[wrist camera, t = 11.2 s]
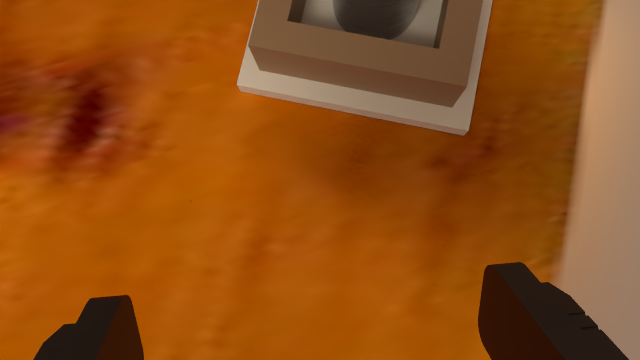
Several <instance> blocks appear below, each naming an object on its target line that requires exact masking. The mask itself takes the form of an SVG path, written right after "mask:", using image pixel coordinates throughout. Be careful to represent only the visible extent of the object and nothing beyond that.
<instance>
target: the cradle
mask: <svg viewBox="0 0 640 360" xmlns="http://www.w3.org/2000/svg"><path fill="white" fill-rule="evenodd" d="M492 1H493V0H419V4H418V7H417V11H416V14H415V17H414V19H413V21H412V23H411V24H410V26H409V27H408V28H407V29H406V30H405V31H404V32H403V33H402V34H400V35H399V36H397V37H395V38H393V39H391V40H388V39H382V38H377V37H372V36H366V35H361V34H355V33H350V32H346V31H345V30H344V29H343V28H342V27H341V26H340V25H339V23H338V21H337V19H336V17H335V14H334V9H333V0H258V4H257V8H256V12H255V16H254V19H253V23H252V27H251V31H250V35H249V39H248V43H247V46H246V50H245V54H244V58H243V62H242V66H241V70H240V73H239V77H238V81H237V86H238V88H239V89H240V91H242V92H247V93H252V94H257V95H262V96H267V97H272V98H277V99H282V100H287V101H292V102H297V103H302V104H307V105H312V106H317V107H322V108H327V109H332V110H337V111H342V112H347V113H352V114H357V115H362V116H367V117H372V118H377V119H382V120H387V121H392V122H397V123H402V124H407V125H412V126H417V127H422V128H427V129H432V130H437V131H443V132H448V133H453V134H458V135H463V136H464V135H465V134H466V133H467V132H468V131H469V126H470V121H471V115H472V110H473V104H474V99H475V94H476V88H477V83H478V77H479V72H480V66H481V61H482V55H483V50H484V45H485V39H486V34H487V28H488V23H489V17H490V12H491V6H492Z"/></svg>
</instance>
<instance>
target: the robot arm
mask: <svg viewBox="0 0 640 360" xmlns="http://www.w3.org/2000/svg"><path fill="white" fill-rule="evenodd" d="M478 327H479V333H480V337H481V340H482V343H483V345H484V347H485V349H486V351H487V352H488V354H489V356H490V358H491V359H492V360H629V359H628V358H627V357H626V356H625V355H624V354H623V353H622V352H621V350H620V349H619V348H618V347H617V346H616V345H615V344H614V343H613V342H612V341H611V340H610V339H609V337H608V336H607V335H606V334H605V333H604V332H603V331H602V330H599V329H598V326H597V324H596V323H595V322H594V321H593V320H592V319H591V318H590V317H589V316H586V315H585V312H584V310H583V309H582V308H581V307H580V306H579V305H578V304H577V303H576V302H575V301H574V300H573V299H572V297H571V296H570V295H568V294H566V293H564V292H563V291H561V290H560V289H558V288H557V287H555V286H553V285H552V284H550V283H548V282H544V283H541V282H540V281H539V280H538V279H537V278H536V277H535V276H534V274H533V273H532V272H531V271H530V270H529V269H528V268H527V266H526V265H525V264H523V263H521V262H517V263H505V264H493V265H488V266H487V267H486V268H485V271H484V277H483V285H482V292H481V300H480V308H479V315H478ZM33 360H144V354H143V347H142V343H141V339H140V334H139V330H138V326H137V322H136V317H135V313H134V309H133V305H132V301H131V299H130V297H129V296H128V295H121V296H109V297H98V298H91V299H90V300H89V301H88V302H87V304H86V306H85V307H84V309H83V311H82V313H81V315H80V317H79V319H78V320H77V322H76V323H75V324H64V325H63V326H62V327H61V328H60V329H58V330H57V331H56V332H55V333H54V334H53V335H52V336H51V337H49V338H48V339H47V340H46V341H45V342H44V343H43V344H42V346H41V348H40V349H39V351H38V353H37V354H36V356H35V358H34V359H33Z"/></svg>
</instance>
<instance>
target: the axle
mask: <svg viewBox="0 0 640 360" xmlns="http://www.w3.org/2000/svg"><path fill="white" fill-rule="evenodd" d="M418 4H419V0H333V9H334V14H335V17H336V19H337V21H338V23H339V25H340V26H341V27H342V28H343V29H344V30H345V31H346V32H350V33H355V34H361V35H366V36H372V37H377V38H382V39H388V40H391V39H393V38H395V37H397V36H399V35H400V34H402V33H403V32H404V31H405V30H406V29H407V28H408V27H409V26H410V24H411V23H412V21H413V19H414V17H415V14H416V11H417V7H418Z"/></svg>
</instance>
